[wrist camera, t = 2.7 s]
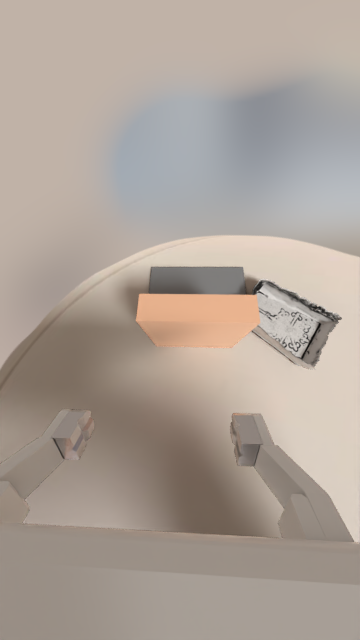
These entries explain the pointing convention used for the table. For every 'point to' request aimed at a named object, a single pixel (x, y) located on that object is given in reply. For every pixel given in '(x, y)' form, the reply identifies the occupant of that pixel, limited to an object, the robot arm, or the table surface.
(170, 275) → the mat
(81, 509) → the table surface
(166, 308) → the orange block
